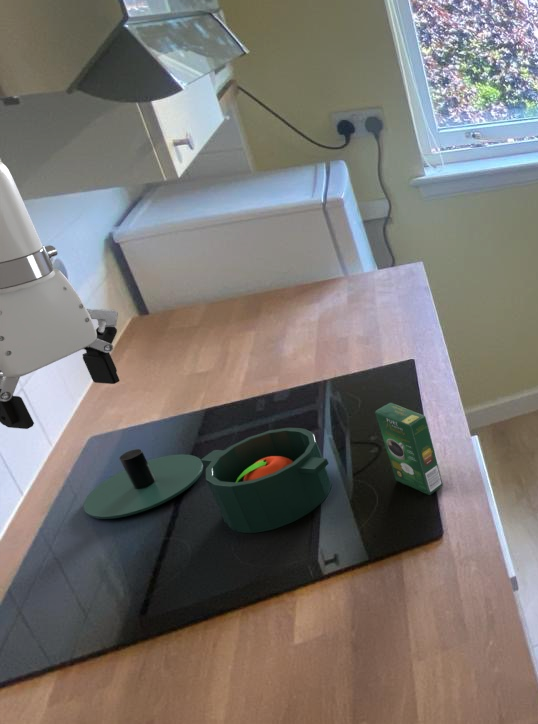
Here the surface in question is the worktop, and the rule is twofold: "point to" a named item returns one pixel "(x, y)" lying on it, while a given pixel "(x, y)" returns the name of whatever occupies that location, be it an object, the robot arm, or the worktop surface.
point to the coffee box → (409, 448)
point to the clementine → (264, 467)
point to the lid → (142, 484)
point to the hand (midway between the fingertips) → (66, 403)
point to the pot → (268, 480)
